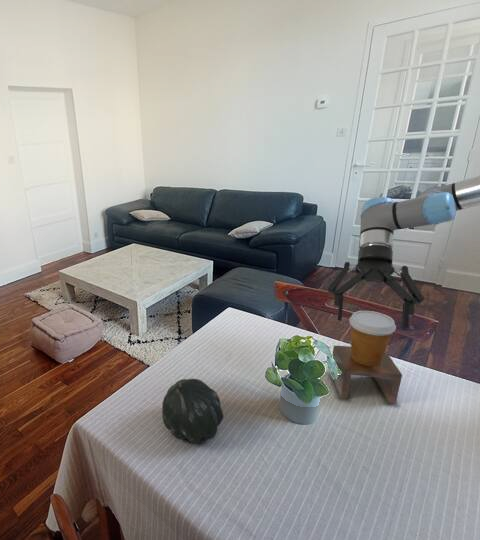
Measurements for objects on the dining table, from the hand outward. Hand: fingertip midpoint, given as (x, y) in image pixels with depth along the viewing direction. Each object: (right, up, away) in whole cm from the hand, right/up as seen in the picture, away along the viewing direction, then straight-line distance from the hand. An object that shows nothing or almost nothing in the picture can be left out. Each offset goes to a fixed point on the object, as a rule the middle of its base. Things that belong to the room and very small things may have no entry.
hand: (371, 323), depth 86 cm
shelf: (+1, -18, +5) cm, 19 cm away
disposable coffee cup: (0, -10, +2) cm, 10 cm away
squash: (-46, -26, -2) cm, 53 cm away
